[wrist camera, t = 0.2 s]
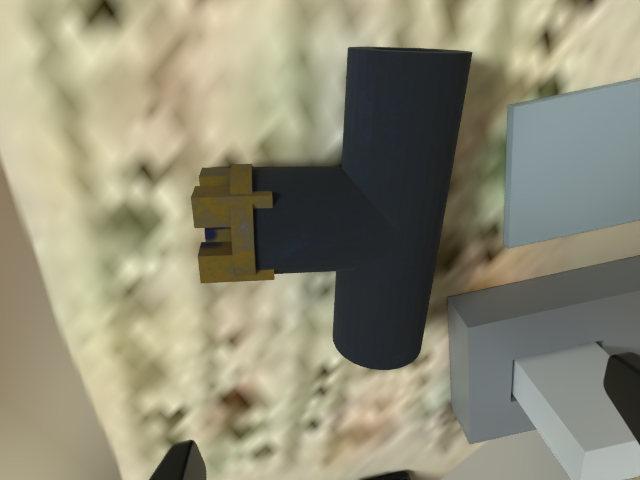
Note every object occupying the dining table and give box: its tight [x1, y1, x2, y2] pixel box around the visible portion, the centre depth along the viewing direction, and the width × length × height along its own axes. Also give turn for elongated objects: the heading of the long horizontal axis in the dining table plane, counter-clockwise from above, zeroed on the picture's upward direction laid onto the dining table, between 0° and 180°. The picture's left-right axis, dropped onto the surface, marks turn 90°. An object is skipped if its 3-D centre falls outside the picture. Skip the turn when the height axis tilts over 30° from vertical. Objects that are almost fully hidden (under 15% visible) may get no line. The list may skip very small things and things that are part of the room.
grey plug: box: [511, 342, 640, 480], centre depth 25 cm, size 3×5×9 cm, turn 100°
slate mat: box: [503, 78, 640, 248], centre depth 23 cm, size 8×11×1 cm
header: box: [447, 256, 640, 444], centre depth 27 cm, size 10×22×3 cm, turn 100°
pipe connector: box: [191, 47, 472, 370], centre depth 20 cm, size 12×5×15 cm
